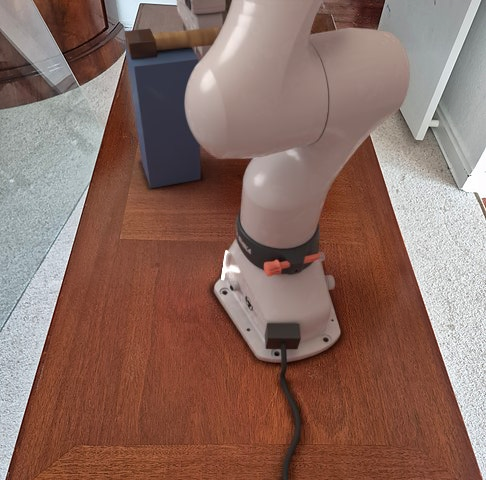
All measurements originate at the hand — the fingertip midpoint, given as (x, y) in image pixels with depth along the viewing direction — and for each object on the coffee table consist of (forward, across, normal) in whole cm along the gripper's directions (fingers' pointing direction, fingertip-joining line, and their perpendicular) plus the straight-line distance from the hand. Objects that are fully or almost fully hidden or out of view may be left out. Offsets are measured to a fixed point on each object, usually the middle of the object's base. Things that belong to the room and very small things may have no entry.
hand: (197, 56), depth 98 cm
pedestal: (+10, +22, -12) cm, 27 cm away
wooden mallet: (-14, +22, -8) cm, 27 cm away
